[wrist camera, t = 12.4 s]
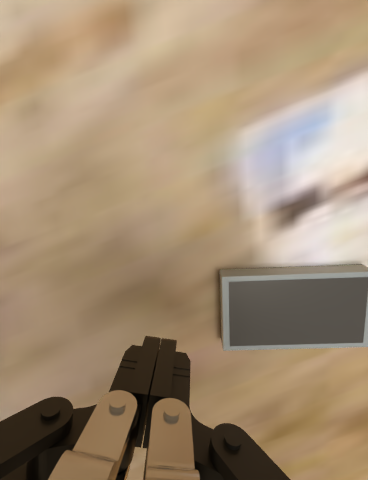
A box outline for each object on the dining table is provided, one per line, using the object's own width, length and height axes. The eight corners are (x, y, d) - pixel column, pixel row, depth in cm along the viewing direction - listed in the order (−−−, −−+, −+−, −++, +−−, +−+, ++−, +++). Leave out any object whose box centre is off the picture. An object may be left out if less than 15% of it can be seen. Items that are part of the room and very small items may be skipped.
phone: (352, 331, 23) (369, 347, 21) (220, 335, 23) (223, 351, 21) (358, 262, 22) (376, 271, 19) (218, 267, 22) (222, 277, 20)
